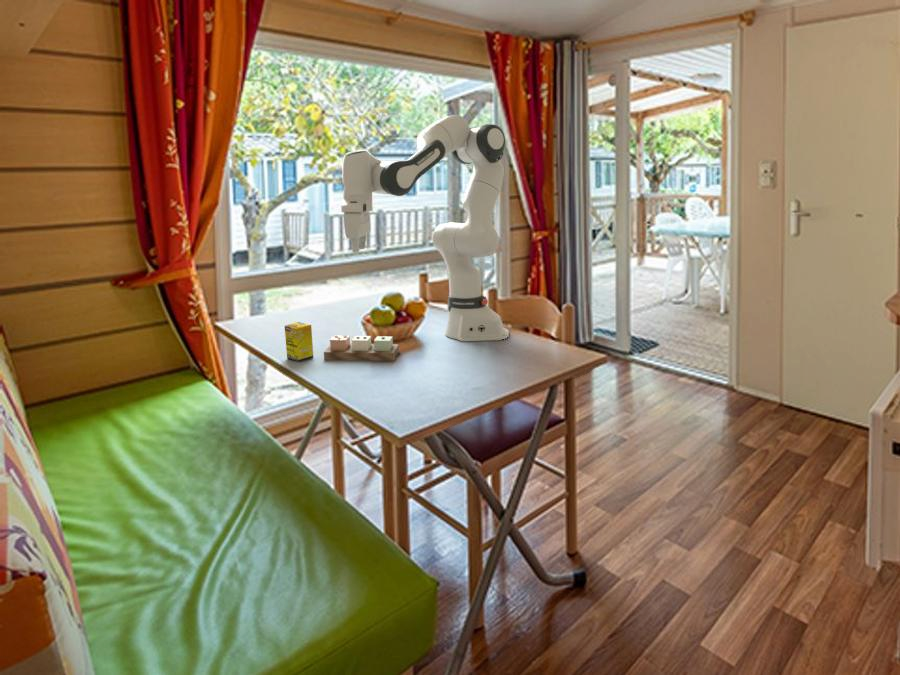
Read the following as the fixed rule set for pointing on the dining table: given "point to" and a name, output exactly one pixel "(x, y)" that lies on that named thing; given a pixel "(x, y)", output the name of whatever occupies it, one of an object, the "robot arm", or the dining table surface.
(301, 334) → the supplement box
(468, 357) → the dining table surface
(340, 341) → the three pip tile
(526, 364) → the dining table surface
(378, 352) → the button board
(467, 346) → the dining table surface
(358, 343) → the two pip tile
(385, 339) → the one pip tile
